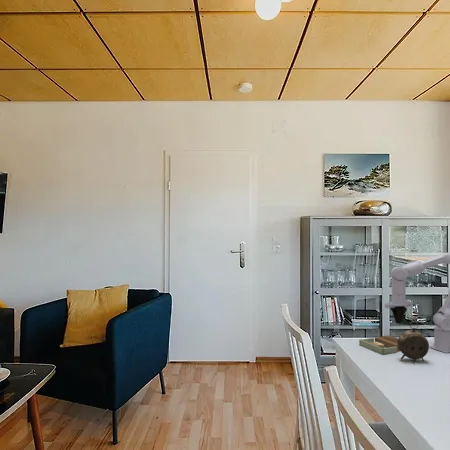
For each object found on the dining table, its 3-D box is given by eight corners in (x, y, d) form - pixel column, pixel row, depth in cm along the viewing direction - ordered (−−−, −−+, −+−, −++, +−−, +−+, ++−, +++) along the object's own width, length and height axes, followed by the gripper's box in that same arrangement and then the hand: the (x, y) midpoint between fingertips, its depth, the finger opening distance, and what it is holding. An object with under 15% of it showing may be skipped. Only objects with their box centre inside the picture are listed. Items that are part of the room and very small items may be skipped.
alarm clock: (424, 359, 154) (425, 319, 154) (430, 364, 148) (431, 323, 148) (397, 358, 155) (397, 319, 155) (401, 363, 149) (402, 322, 150)
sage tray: (372, 343, 175) (372, 337, 175) (397, 352, 162) (397, 346, 162) (359, 345, 172) (359, 339, 172) (382, 355, 159) (382, 349, 159)
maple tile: (368, 342, 168) (368, 347, 167) (376, 345, 163) (376, 350, 163) (376, 341, 169) (376, 346, 169) (384, 344, 165) (384, 349, 165)
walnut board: (389, 341, 177) (389, 335, 177) (410, 349, 166) (410, 342, 166) (374, 343, 174) (374, 337, 174) (395, 352, 163) (395, 345, 163)
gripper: (403, 290, 178) (403, 319, 178) (379, 292, 172) (379, 322, 172) (415, 293, 171) (415, 323, 171) (391, 295, 166) (391, 326, 166)
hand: (398, 323), depth 171 cm, fingers closed
